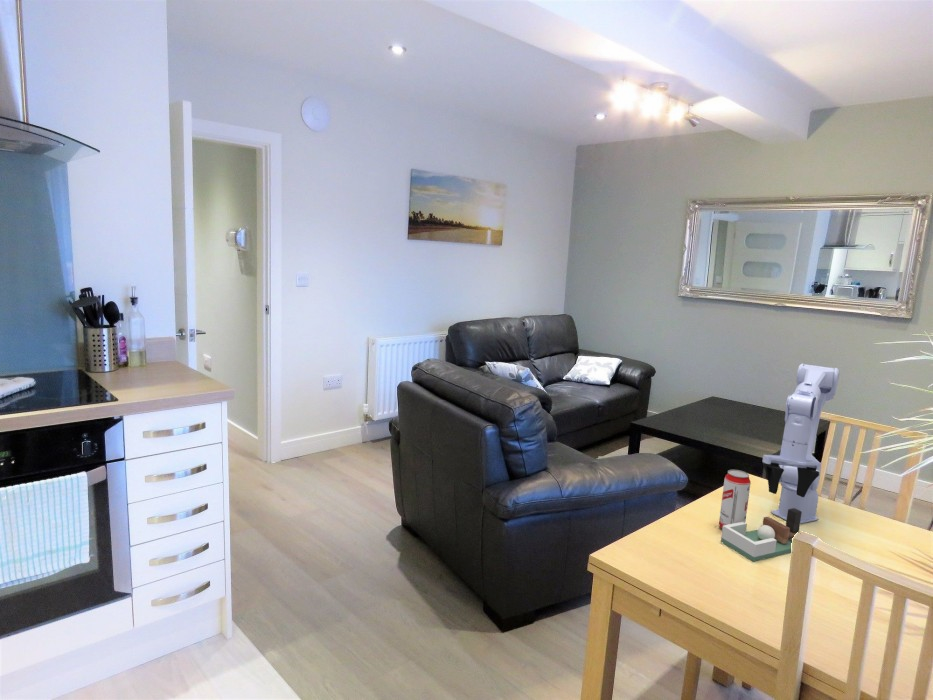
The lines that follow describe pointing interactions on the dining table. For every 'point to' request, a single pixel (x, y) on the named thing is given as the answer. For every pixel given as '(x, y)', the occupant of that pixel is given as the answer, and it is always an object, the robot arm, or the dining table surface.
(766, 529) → the ball
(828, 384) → the robot arm
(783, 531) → the slider
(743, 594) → the dining table surface
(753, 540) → the pitch
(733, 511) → the beer can
